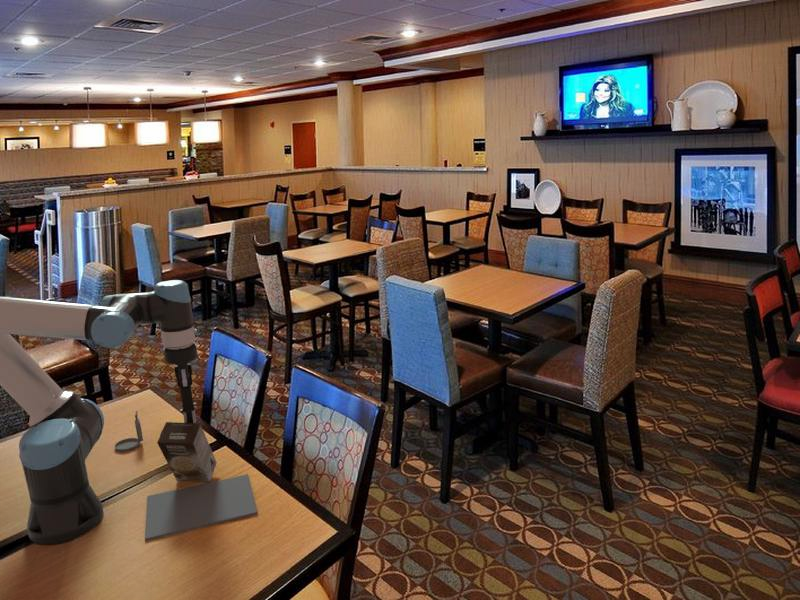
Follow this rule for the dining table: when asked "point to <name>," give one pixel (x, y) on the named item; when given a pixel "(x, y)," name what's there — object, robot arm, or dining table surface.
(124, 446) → the pocket watch
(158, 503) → the mat
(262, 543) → the dining table surface
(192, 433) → the coffee box
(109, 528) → the dining table surface
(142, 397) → the dining table surface
